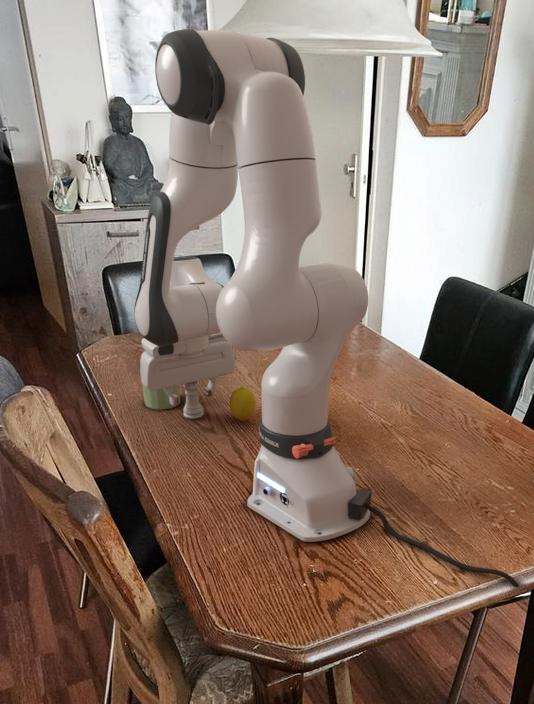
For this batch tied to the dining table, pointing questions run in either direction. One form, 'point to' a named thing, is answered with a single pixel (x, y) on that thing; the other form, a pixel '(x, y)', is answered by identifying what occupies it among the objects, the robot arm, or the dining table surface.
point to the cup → (159, 398)
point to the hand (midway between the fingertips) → (192, 399)
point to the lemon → (242, 403)
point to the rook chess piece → (192, 402)
